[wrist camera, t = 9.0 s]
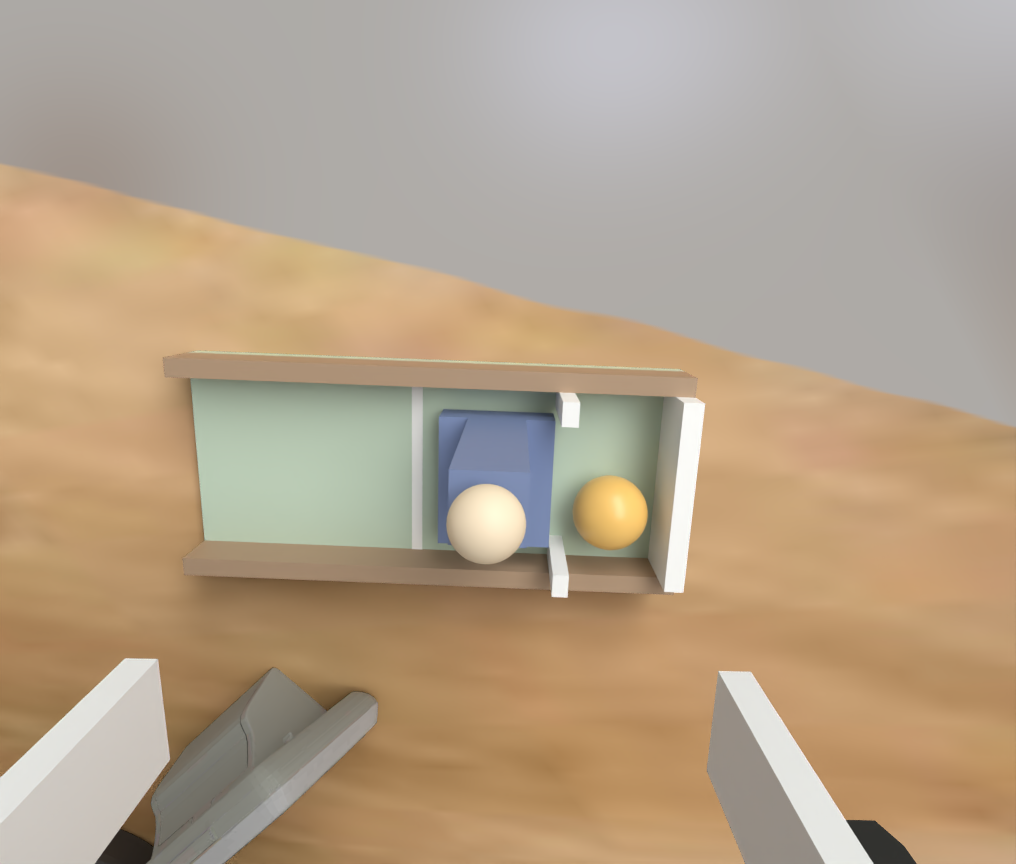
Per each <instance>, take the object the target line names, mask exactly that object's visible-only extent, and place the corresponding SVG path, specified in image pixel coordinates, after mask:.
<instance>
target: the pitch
mask: <svg viewBox="0 0 1016 864" xmlns="http://www.w3.org/2000/svg"><path fill="white" fill-rule="evenodd" d="M163 363H164V374H165V377H173V378H190V379H191V391H192V402H193V414H194V425H195V436H196V448H197V459H198V471H199V482H200V493H201V505H202V516H203V527H204V539H205V540H204V541H203V542H202V543H201V544H199V545H198V546H197V547H196V548H195V549H193V550H192V551H191V552H190V553H188V554H187V555H186V556H185V557H183V568H184V575H198V576H223V577H247V578H272V579H296V580H321V581H345V582H370V583H394V584H419V585H443V586H468V587H493V588H517V589H542V590H551V596H552V597H566V598H567V597H568V591H591V592H615V593H640V594H664V595H674V592H678V593H683V591H684V582H685V573H686V565H687V556H688V547H689V539H690V530H691V521H692V513H693V504H694V495H695V487H696V478H697V469H698V461H699V452H700V443H701V435H702V426H703V417H704V409H705V403H703V402H702V401H700V400H698V399H697V398H696V389H697V380H698V378H696V377H694V376H692V375H690V374H689V373H687V372H685V371H683V370H681V369H663V368H637V367H611V366H585V365H559V364H533V363H507V362H481V361H455V360H429V359H403V358H377V357H351V356H325V355H299V354H273V353H247V352H221V351H193V352H188V353H183V354H178V355H173V356H168V357H163ZM443 409H456V410H482V411H508V412H534V413H554V417H555V421H556V425H555V443H554V460H553V478H552V496H551V513H550V531H549V548H546V547H527V548H518V549H517V550H516V551H515V552H514V553H513V554H512V555H511V556H510V557H508V558H507V559H505V560H503V561H501V562H498V563H495V564H478V563H474V562H471V561H469V560H467V559H465V558H464V557H462V556H461V555H460V554H459V553H458V552H457V551H456V550H455V549H454V547H453V546H452V545H448V544H447V543H438V463H439V416H440V414H441V412H442V411H443ZM605 475H613V476H618V477H622V478H625V479H627V480H629V481H630V482H632V483H633V484H634V485H635V486H636V487H637V488H638V489H639V490H640V491H641V493H642V494H643V496H644V498H645V501H646V504H647V510H648V518H647V523H646V526H645V529H644V531H643V533H642V534H641V536H640V537H639V538H638V539H637V540H636V541H635V542H634V543H632V544H631V545H629V546H627V547H625V548H622V549H618V550H603V549H600V548H597V547H595V546H593V545H591V544H589V543H588V542H587V541H585V540H584V539H583V538H582V536H581V535H580V534H579V532H578V531H577V529H576V527H575V524H574V521H573V514H572V509H573V504H574V500H575V497H576V495H577V493H578V492H579V490H580V489H581V488H582V487H583V486H584V485H585V484H586V483H587V482H589V481H590V480H592V479H594V478H597V477H600V476H605Z"/></svg>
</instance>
